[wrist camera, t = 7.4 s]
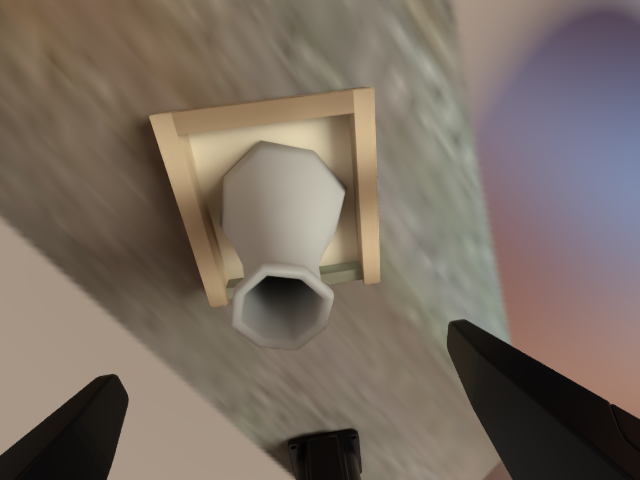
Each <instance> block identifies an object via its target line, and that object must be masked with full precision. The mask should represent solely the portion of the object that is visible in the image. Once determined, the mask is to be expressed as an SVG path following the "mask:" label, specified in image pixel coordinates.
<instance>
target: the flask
mask: <svg viewBox="0 0 640 480" xmlns="http://www.w3.org/2000/svg"><path fill="white" fill-rule="evenodd" d="M346 190H347V187H346V186H345V185H344V184H343V183H342V182H341V181H340V180H339V178H338V177H337V176H336V175H335V174H334V173H333V172H332V170H331V169H330V168H329V167H328V166H327V165H326V164H325V163H324V161H323V160H322V159H321V158H320V157H319V156H318V155H317V153H316V152H315V151H314V150H309V149H304V148H299V147H293V146H288V145H283V144H278V143H273V142H268V141H262V140H260V141H259V142H258V143H257V144H256V145H255V146H254V147H253V148H252V149H251V150H250V151H249V152H248V153H247V154H246V155H245V156H244V157H243V158H242V159H241V160H240V161H239V162H238V163H237V164H236V165H235V166H234V167H233V168H232V169H231V170H230V171H229V172H228V173H227V174H226V175H225V176H224V179H223V192H222V204H221V216H220V226H221V228H222V230H223V231H224V233H225V234H226V236H227V237H228V239H229V240H230V242H231V243H232V245H233V247H234V249H235V251H236V253H237V255H238V257H239V259H240V261H241V263H242V265H243V272H244V279H243V280H242V281H240V282H239V283H238V284H237V285H236V286H235V288H234V291H233V299H232V308H231V317H230V327H231V328H232V329H234V330H235V331H237V332H238V333H239V334H241V335H242V336H244V337H245V338H246V339H248V340H249V341H251V342H252V343H254V344H255V345H256V346H258V347H260V348H272V349H284V350H296V351H297V350H299V349H300V348H301V347H303V346H304V345H305V344H306V343H308V342H309V341H310V340H312V339H313V338H314V337H316V336H317V335H318V334H320V333H321V332H322V331H324V330H325V329H326V326H327V322H328V318H329V314H330V311H331V307H332V303H333V299H334V293H333V292H332V290H331V289H330V288H329V287H328V286H327V285H326V284H325V283H324V282H322V281H321V277H320V271H319V262H320V260H321V258H322V256H323V254H324V252H325V250H326V249H327V247H328V245H329V244H330V242H331V241H332V239H333V237H334V235H335V233H336V230H337V226H338V222H339V218H340V214H341V210H342V206H343V202H344V198H345V194H346Z"/></svg>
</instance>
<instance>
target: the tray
mask: <svg viewBox="0 0 640 480" xmlns="http://www.w3.org/2000/svg"><path fill="white" fill-rule="evenodd" d="M149 118H150V121H151V124H152V127H153V130H154V133H155V136H156V139H157V142H158V145H159V148H160V152H161V155H162V158H163V161H164V164H165V167H166V170H167V173H168V176H169V179H170V182H171V186H172V189H173V192H174V195H175V198H176V201H177V204H178V207H179V210H180V213H181V216H182V220H183V223H184V226H185V229H186V232H187V235H188V238H189V241H190V244H191V247H192V250H193V253H194V257H195V260H196V263H197V266H198V269H199V272H200V275H201V278H202V281H203V284H204V287H205V291H206V294H207V297H208V300H209V303H210V306H211V307H217V306H224V305H228V301H229V299H233V291H234V288H235V286H236V285H237V284H238V283H239V282H240V281H242V280H243V279H244V272H243V265H242V263H241V261H240V259H239V257H238V255H237V253H236V251H235V249H234V247H233V245H232V243H231V242H230V240H229V239H228V237H227V236H226V234H225V233H224V231H223V230H222V228H221V226H220V216H221V204H222V192H223V179H224V176H225V175H226V174H227V173H228V172H229V171H230V170H231V169H232V168H233V167H234V166H235V165H236V164H237V163H238V162H239V161H240V160H241V159H242V158H243V157H244V156H245V155H246V154H247V153H248V152H249V151H250V150H251V149H252V148H253V147H254V146H255V145H256V144H257V143H258V142H259V141H260V140H262V141H268V142H273V143H278V144H283V145H288V146H293V147H299V148H304V149H309V150H314V151H315V152H316V153H317V155H318V156H319V157H320V158H321V159H322V160H323V161H324V163H325V164H326V165H327V166H328V167H329V168H330V169H331V170H332V172H333V173H334V174H335V175H336V176H337V177H338V178H339V180H340V181H341V182H342V183H343V184H344V185H345V186H346V187H347V190H346V194H345V198H344V202H343V206H342V210H341V214H340V218H339V222H338V226H337V230H336V233H335V235H334V237H333V239H332V241H331V242H330V244H329V245H328V247H327V249H326V250H325V252H324V254H323V256H322V258H321V260H320V262H319V271H320V277H321V281H322V282H324V283H325V284H326V285H327V284H334V283H341V282H347V281H354V280H361V279H363V282H364V284H371V283H378V282H380V256H379V225H378V194H377V163H376V132H375V101H374V88H370V87H361V88H353V89H345V90H337V91H329V92H321V93H313V94H305V95H297V96H289V97H281V98H273V99H265V100H257V101H249V102H241V103H233V104H224V105H216V106H208V107H200V108H192V109H184V110H176V111H168V112H163V113H159V114H154V115H150V116H149Z"/></svg>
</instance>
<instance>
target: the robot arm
mask: <svg viewBox="0 0 640 480" xmlns="http://www.w3.org/2000/svg"><path fill="white" fill-rule="evenodd" d="M447 349H448V352H449V354H450V357H451V359H452V361H453V364H454V366H455V368H456V371H457V373H458V375H459V378H460V380H461V382H462V385H463V387H464V389H465V392H466V394H467V396H468V399H469V401H470V403H471V405H472V407H473V409H474V411H475V413H476V415H477V417H478V418H479V420H480V422H481V424H482V426H483V427H484V429H485V431H486V433H487V435H488V436H489V438H490V440H491V442H492V444H493V445H494V447H495V449H496V451H497V453H498V454H499V456H500V458H501V460H502V462H503V463H504V465H505V467H506V469H507V471H508V472H509V474H510V476H511V478H512V479H513V480H640V419H639V418H637V417H635V416H633V415H631V414H630V413H628V412H626V411H625V410H623V409H621V408H619V407H617V406H616V405H614V404H611V405H610V403H609V402H608V401H607V400H605V399H603V398H602V397H600V396H598V395H596V394H595V393H593V392H591V391H589V390H588V389H586V388H584V387H582V386H581V385H579V384H577V383H575V382H574V381H572V380H570V379H568V378H567V377H565V376H563V375H561V374H559V373H558V372H556V371H554V370H553V369H551V368H549V367H547V366H546V365H544V364H542V363H541V362H539V361H537V360H535V359H533V358H532V357H530V356H528V355H526V354H525V353H523V352H521V351H520V350H518V349H516V348H514V347H513V346H511V345H509V344H507V343H506V342H504V341H502V340H500V339H499V338H497V337H495V336H493V335H492V334H490V333H488V332H486V331H485V330H483V329H481V328H479V327H478V326H476V325H474V324H472V323H471V322H469V321H467V320H465V319H461V320H454V321H451V322H449V325H448V335H447ZM128 401H129V399H128V394H127V392H126V390H125V388H124V386H123V385H122V383H121V381H120V379H119V378H118V376H117V375H115V374H110V375H104V376H99V377H97V378H95V379H94V380H93V381H92V382H90V383H89V384H88V385H87V386H86V387H84V388H83V389H82V390H81V391H79V392H78V393H77V394H76V395H75V396H73V397H72V398H71V399H69V400H68V401H67V402H66V403H65V404H63V405H62V406H61V407H60V408H58V409H57V410H56V411H55V412H53V413H52V414H51V415H50V416H48V417H47V418H46V419H45V420H44V421H42V422H41V423H40V424H39V425H38V426H36V427H35V428H34V429H32V430H31V431H30V432H29V433H28V434H26V435H25V436H24V437H23V438H21V439H20V440H19V441H18V442H16V443H15V444H14V445H13V446H12V447H10V448H9V449H8V450H7V451H5V452H4V453H3V454H2V455H0V480H107V477H108V474H109V471H110V468H111V465H112V462H113V459H114V455H115V452H116V448H117V444H118V440H119V437H120V433H121V429H122V425H123V421H124V417H125V414H126V410H127V407H128ZM288 451H289V454H290V458H291V462H292V466H293V470H294V474H295V478H296V480H361V477H360V474H361V473H362V466H361V455H360V444H359V435H358V431H356V430H349V431H343V432H337V433H331V434H325V435H319V436H313V437H307V438H301V439H295V440H291V441H289V442H288Z"/></svg>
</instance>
